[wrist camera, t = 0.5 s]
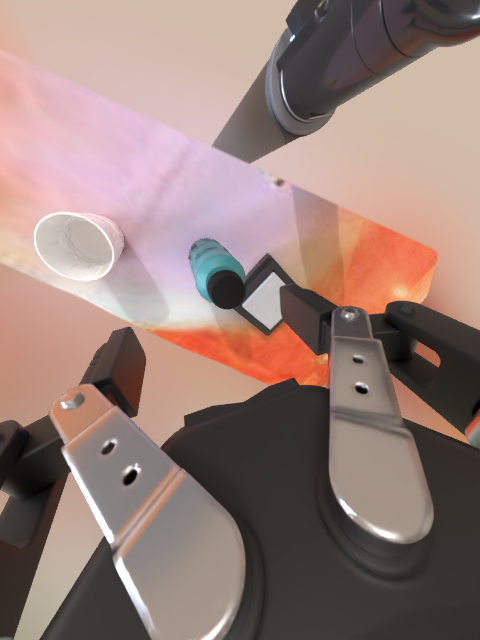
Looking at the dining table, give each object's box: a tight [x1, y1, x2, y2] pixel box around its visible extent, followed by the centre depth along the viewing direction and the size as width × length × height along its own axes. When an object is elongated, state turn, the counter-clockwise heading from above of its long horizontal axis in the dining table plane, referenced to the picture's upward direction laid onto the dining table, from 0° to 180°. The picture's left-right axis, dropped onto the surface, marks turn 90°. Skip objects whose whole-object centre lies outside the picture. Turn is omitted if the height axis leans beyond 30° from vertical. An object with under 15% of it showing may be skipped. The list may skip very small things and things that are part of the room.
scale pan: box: [241, 271, 286, 330], centre depth 44 cm, size 9×9×2 cm
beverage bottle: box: [189, 238, 246, 309], centre depth 30 cm, size 6×7×20 cm
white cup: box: [34, 212, 125, 281], centre depth 29 cm, size 8×8×10 cm
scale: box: [233, 253, 294, 336], centre depth 45 cm, size 14×13×3 cm
